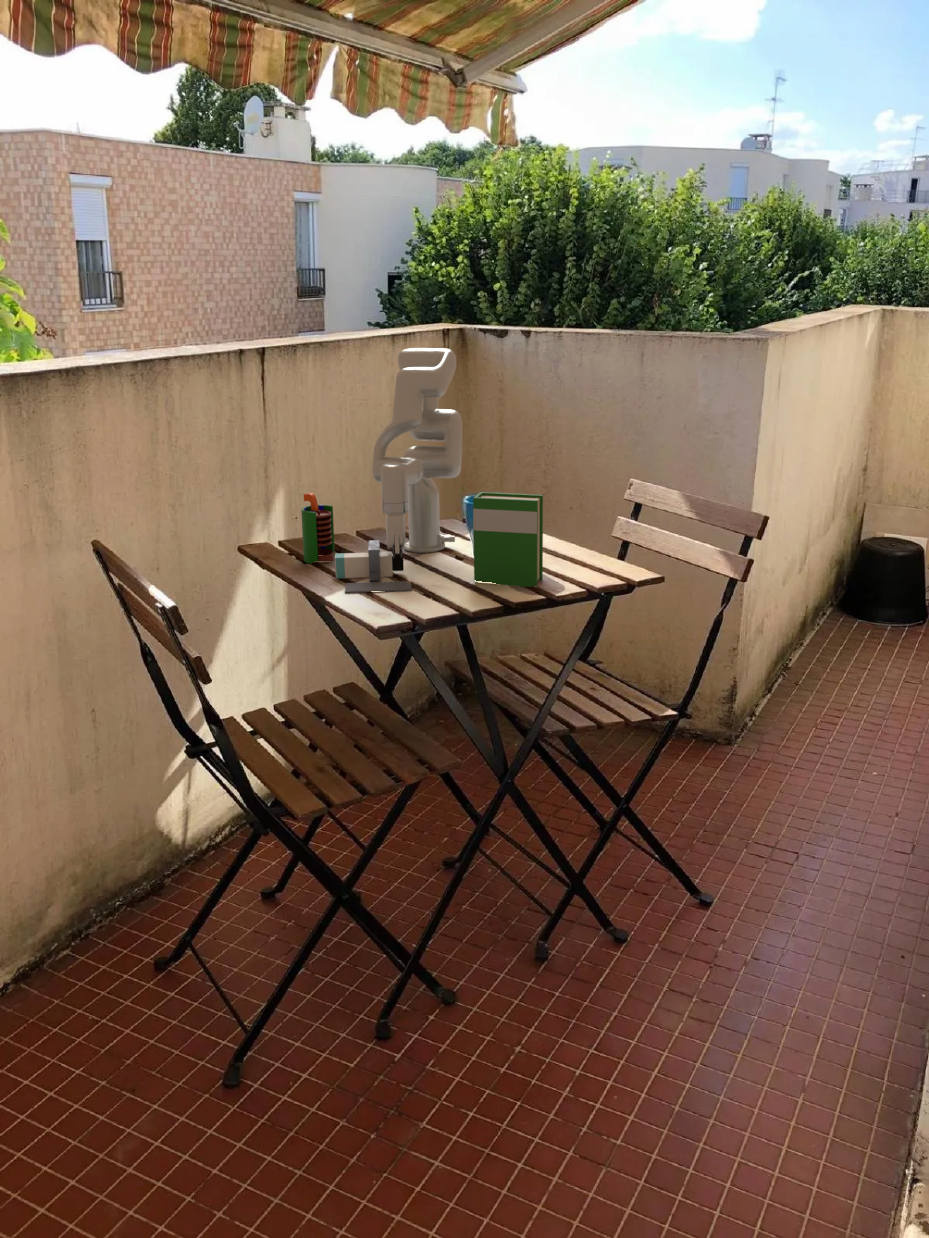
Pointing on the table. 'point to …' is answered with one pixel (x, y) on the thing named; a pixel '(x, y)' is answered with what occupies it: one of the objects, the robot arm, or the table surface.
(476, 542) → the hardback book
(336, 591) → the table surface
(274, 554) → the table surface
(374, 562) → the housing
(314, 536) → the motor
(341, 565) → the white and teal box
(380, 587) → the mat
